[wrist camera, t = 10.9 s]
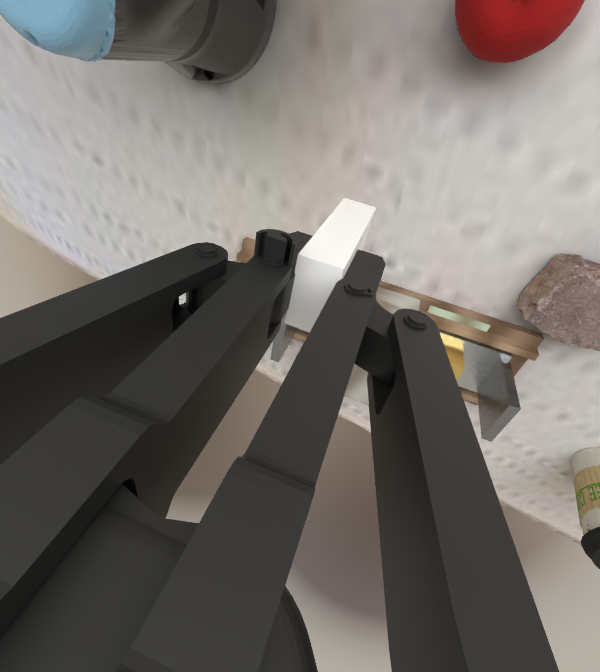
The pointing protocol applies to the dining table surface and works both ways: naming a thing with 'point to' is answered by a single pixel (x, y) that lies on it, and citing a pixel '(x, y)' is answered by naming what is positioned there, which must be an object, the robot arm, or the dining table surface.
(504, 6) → the apple
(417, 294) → the tunnel board
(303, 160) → the dining table surface
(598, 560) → the coffee cup
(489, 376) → the grey u-shaped piece
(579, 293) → the stone
